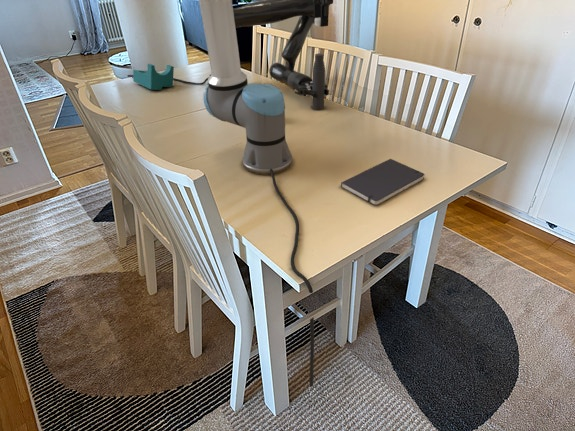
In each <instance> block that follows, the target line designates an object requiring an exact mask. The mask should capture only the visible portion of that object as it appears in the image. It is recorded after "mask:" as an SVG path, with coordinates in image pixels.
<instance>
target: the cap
mask: <svg viewBox="0 0 575 431" xmlns="http://www.w3.org/2000/svg"><path fill="white" fill-rule="evenodd" d="M320 23H321V17H319V18H315V23H313V25H314V26H316V27H321V26H320Z"/></svg>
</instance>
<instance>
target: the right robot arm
mask: <svg viewBox="0 0 575 431" xmlns="http://www.w3.org/2000/svg"><path fill="white" fill-rule="evenodd" d="M311 1H313V3H314V23H315V18H319V17H321V23H320V26H319V27H321V28H323V27H329V15H330V13H329V12H330V6H331V5H333V4H334V0H322V1H321V0H311ZM198 3H199V8H200V14H201V21H202V26H203V33H204V38H205V42H206V49H207V55H208V62H209V66H210V71H211V76H210V75H209V76H208V77H209V78H208V77H207V78H208V80H207V84H206V85H205V88H204V89H205V91H204V92H203V95H202V96H203V98H202V99H203V103H204V107H205V109H206V111H207V112H208V114H209V115H210V116H212V117H214V118H216V119H218V120H219V121H220V122H226V123H229V124H232V125H235V126H238V127H241V128H243V129H245V136H246V137H245V138H246V143H245V146H244V151H243V155H242V166H243V168H244V170H246V171H247V172H249V173H252V174H254V175H255V174H256V175H262V176H269V175H270V176H271V180H272V183H273V187H274V190H275V191H276V194H277V195H278V197H279V198H280V200H281V201H282V203H283V204H284V206H285V207H286V209H287V210H288V211H289V213H290V214H291V215H292V217H293V220H294V223H295V234H294V243H293V247H292V252H291V255H290V267H291V270H292V272H293V273H294V274H295V275H296V276H297V277H299V278H300V279H301V281H303V282H304V284H305V285H306V287H307V291H308V292H309V293H310V294H313V293H314V290H313V287H312V284H311V282H310V281H309V279H308V278H307V277H306V276H305V275H304V274H303V273H302V272H301V271H299V270H298V269H297V268H296V264H295V257H296V253H297V250H298V247H299V246H298V245H299V235H300V223H299V222H300V221H299V218H298V216H297V214H296V212H295V211H294V210H293V209H292V207H291V206H290V205H289V203H288V202H287V200H286V199H285V197H284V196H283V194H282V193H281V191H280V189H279V187H278V185H277V180H276V176H275V175H277V174H280V173H283V172H286V171H287V170H289V169H290V167H291V166H292V163H293V157H292V153H291V150H290V148H289V145H288V143H287V140H286V104H285V97H284V94H283V91H282V90H281V89H280V88H279V87H277V86H275V85H273V84H269V83H265V82H264V83H261V82H254V83H249V82H248V76H247V74H246V73H245V72H243V71H242V69H241V68H242V67H241V60H240V52H239V44H238V36H237V30H236V29H237V28H235V21H234V13H233V8H234V6H233V0H198ZM314 23H313V24H314ZM309 329H310V330H309V334H310V336H309V338H310V339H309V340H310V341H309V342H310V344H309V345H310V349H309V352H310V353H309V355H310V356H309V387H311V388H312V387H314V365H315V362H314V361H315V318H314V316H313V317H312V318H310V319H309Z"/></svg>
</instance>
